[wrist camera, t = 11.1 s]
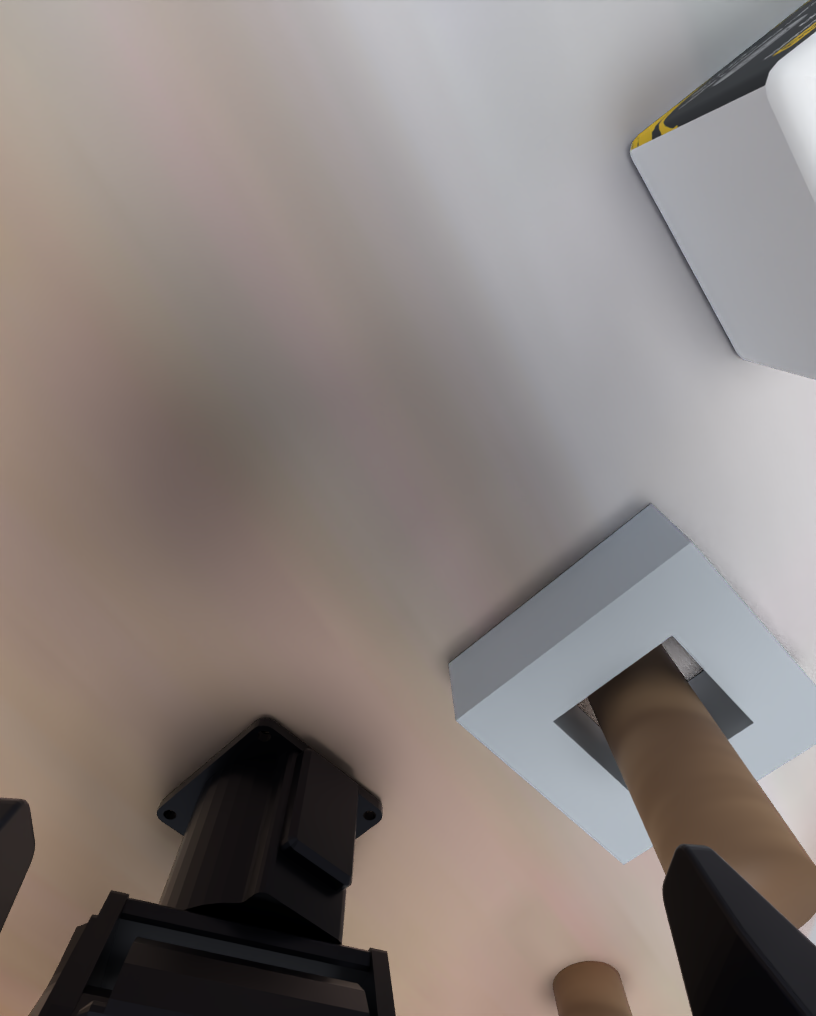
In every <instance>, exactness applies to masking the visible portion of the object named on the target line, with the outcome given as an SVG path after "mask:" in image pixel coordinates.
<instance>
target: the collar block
mask: <svg viewBox="0 0 816 1016" xmlns="http://www.w3.org/2000/svg"><path fill="white" fill-rule="evenodd" d="M671 636H673V637H674V638H675V639H676V640H677V641H678V642H679V643H680V644H681V646H682V647H683V648H684V649H685V650H686V651H687V652H688V653H689V654H690V655H691V656H692V657H693V658H694V659H695V660H696V662H697V663H698V664H699V665H700V666H701V667H702V668H703V669H704V671H703V672H701V673H700V674H698V675H697V676H695V677H694V678H693V679H691V680H690V681H688V683H689V685H690V686H691V688H692V689H693V690H694V692H695V693H696V695H697V696H698V698H699V699H700V701H701V702H702V703H703V705H704V706H705V708H706V709H707V711H708V712H709V713H710V715H711V716H712V718H713V719H714V721H715V722H716V724H717V725H718V726H719V728H720V729H721V731H722V732H723V734H724V735H725V736H726V738H727V739H728V741H729V742H730V744H731V745H732V747H733V748H734V749H735V751H736V752H737V754H738V755H739V757H740V758H741V759H742V761H743V762H744V764H745V765H746V767H747V768H748V770H749V771H750V772H751V774H752V775H753V777H754V778H755V780H756V781H758V780H760V779H761V778H763V777H764V776H766V775H768V774H769V773H771V772H772V771H774V770H776V769H777V768H779V767H780V766H782V765H784V764H785V763H787V762H788V761H790V760H792V759H793V758H795V757H796V756H798V755H800V754H801V753H803V752H804V751H806V750H808V749H809V748H811V747H812V746H814V745H816V685H815V684H814V683H813V681H812V680H811V679H810V678H809V677H808V676H807V674H806V673H805V672H804V671H803V670H802V669H801V667H800V666H799V665H798V664H797V663H796V662H795V661H794V659H793V658H792V657H791V656H790V655H789V654H788V652H787V651H786V650H785V649H784V648H783V647H782V645H781V644H780V643H779V642H778V641H777V640H776V638H775V637H774V636H773V635H772V634H771V633H770V632H769V630H768V629H767V628H766V627H765V626H764V625H763V623H762V622H761V621H760V620H759V619H758V618H757V616H756V615H755V614H754V613H753V612H752V611H751V609H750V608H749V607H748V606H747V605H746V604H745V602H744V601H743V600H742V599H741V598H740V597H739V596H738V594H737V593H736V592H735V591H734V590H733V589H732V587H731V586H730V585H729V584H728V583H727V582H726V580H725V579H724V578H723V577H722V576H721V575H720V573H719V572H718V571H717V570H716V569H715V568H714V567H713V565H712V564H711V563H710V562H709V561H708V560H707V558H706V557H705V556H704V555H703V554H702V553H701V551H700V550H699V549H698V548H697V547H696V546H695V544H694V543H693V542H692V541H691V540H690V539H689V538H688V537H687V536H686V535H685V534H683V533H682V532H681V531H680V530H679V529H678V528H677V527H676V526H675V525H674V524H673V523H672V522H671V521H670V520H669V519H668V518H667V517H665V516H664V515H663V514H662V513H661V512H660V511H659V510H658V509H657V508H656V507H655V506H654V505H653V504H652V503H651V504H650V505H649V506H647V507H646V508H645V509H643V510H642V511H641V512H640V513H638V514H637V515H636V516H635V517H633V518H632V519H631V520H630V521H628V522H627V523H626V524H625V525H623V526H622V527H621V528H619V529H618V530H617V531H616V532H614V533H613V534H612V535H611V536H609V537H608V538H607V539H606V540H604V541H603V542H602V543H601V544H599V545H598V546H597V547H595V548H594V549H593V550H592V551H590V552H589V553H588V554H587V555H585V556H584V557H583V558H582V559H580V560H579V561H578V562H577V563H575V564H574V565H573V566H571V567H570V568H569V569H568V570H566V571H565V572H564V573H563V574H561V575H560V576H559V577H558V578H556V579H555V580H554V581H553V582H551V583H550V584H549V585H547V586H546V587H545V588H544V589H542V590H541V591H540V592H539V593H537V594H536V595H535V596H534V597H532V598H531V599H530V600H529V601H527V602H526V603H525V604H523V605H522V606H521V607H520V608H518V609H517V610H516V611H515V612H513V613H512V614H511V615H510V616H508V617H507V618H506V619H504V620H503V621H502V622H501V623H499V624H498V625H497V626H496V627H494V628H493V629H492V630H491V631H489V632H488V633H487V634H486V635H484V636H483V637H482V638H480V639H479V640H478V641H477V642H475V643H474V644H473V645H472V646H470V647H469V648H468V649H467V650H465V651H464V652H463V653H462V654H460V655H459V656H458V657H456V658H455V659H454V660H453V661H451V662H450V663H449V664H448V665H449V672H450V680H451V688H452V696H453V703H454V711H455V719H456V721H457V722H458V723H459V724H460V725H461V726H462V727H464V728H465V729H466V730H467V731H468V732H469V733H471V734H472V735H473V736H474V737H475V738H476V739H478V740H479V741H480V742H481V743H482V744H483V745H485V746H486V747H487V748H488V749H489V750H490V751H492V752H493V753H494V754H495V755H496V756H497V757H499V758H500V759H501V760H502V761H503V762H504V763H506V764H507V765H508V766H509V767H510V768H511V769H513V770H514V771H515V772H516V773H517V774H518V775H520V776H521V777H522V778H523V779H524V780H525V781H527V782H528V783H529V784H530V785H531V786H532V787H534V788H535V789H536V790H537V791H538V792H539V793H541V794H542V795H543V796H544V797H545V798H546V799H548V800H549V801H550V802H551V803H552V804H553V805H555V806H556V807H557V808H558V809H559V810H560V811H562V812H563V813H564V814H565V815H566V816H567V817H569V818H570V819H571V820H572V821H573V822H574V823H576V824H577V825H578V826H579V827H580V828H581V829H583V830H584V831H585V832H586V833H587V834H588V835H590V836H591V837H592V838H593V839H594V840H595V841H597V842H598V843H599V844H600V845H601V846H602V847H604V848H605V849H606V850H607V851H608V852H609V853H611V854H612V855H613V856H614V857H615V858H616V859H618V860H619V861H620V862H621V863H622V864H623V865H624V864H626V863H627V862H629V861H630V860H632V859H634V858H635V857H637V856H638V855H640V854H642V853H643V852H645V851H646V850H648V849H650V848H651V847H653V845H652V843H651V840H650V838H649V836H648V833H647V831H646V829H645V827H644V824H643V822H642V820H641V818H640V815H639V813H638V811H637V808H636V806H635V804H634V802H633V799H632V797H631V795H630V793H629V790H628V788H627V786H626V784H625V781H624V779H623V777H622V774H621V772H620V770H619V768H618V765H617V763H616V761H615V759H614V756H613V754H612V752H611V749H610V747H609V745H608V743H607V740H606V738H605V736H604V734H603V731H602V729H601V728H600V727H599V726H598V725H597V724H596V723H595V722H594V721H593V720H592V719H591V718H590V717H588V716H587V715H586V714H585V713H584V712H583V711H582V710H581V709H580V708H579V707H578V706H577V705H576V704H578V703H579V702H581V701H582V700H583V699H585V698H586V697H587V696H589V695H590V694H592V693H593V692H594V691H596V690H597V689H599V688H600V687H601V686H603V685H604V684H606V683H607V682H608V681H610V680H611V679H612V678H614V677H615V676H617V675H618V674H619V673H621V672H622V671H624V670H625V669H626V668H628V667H629V666H630V665H632V664H633V663H635V662H636V661H637V660H639V659H640V658H642V657H643V656H644V655H646V654H647V653H649V652H650V651H651V650H653V649H654V648H655V647H657V646H658V645H660V644H661V643H662V642H664V641H665V640H667V639H668V638H669V637H671Z"/></svg>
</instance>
